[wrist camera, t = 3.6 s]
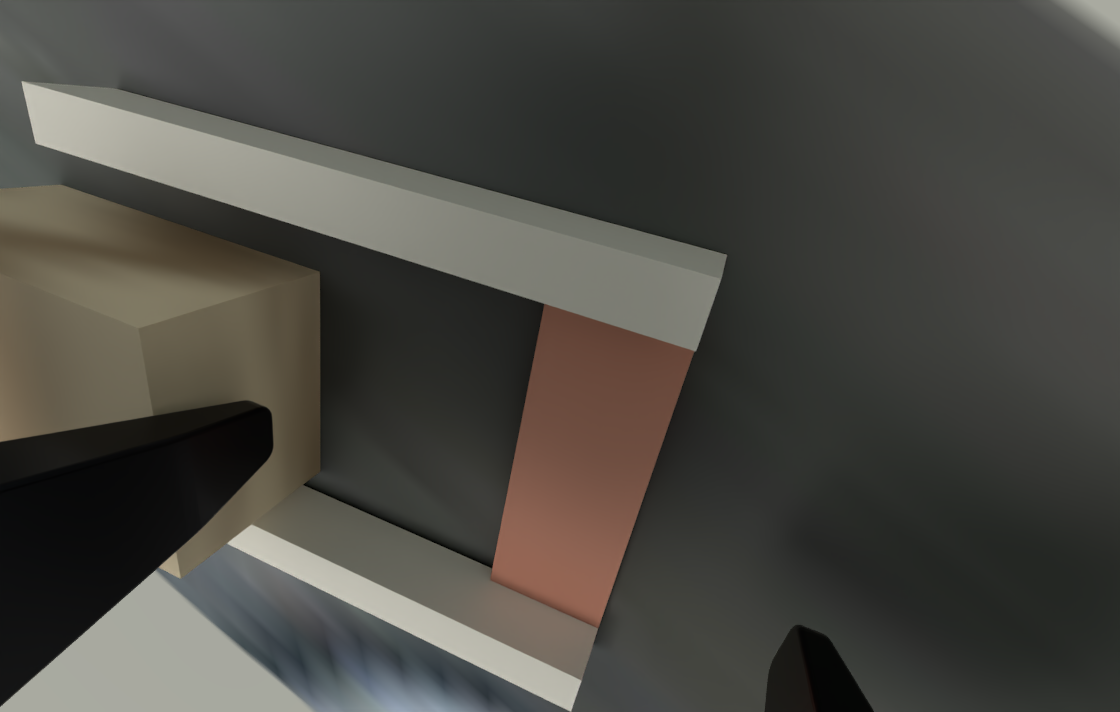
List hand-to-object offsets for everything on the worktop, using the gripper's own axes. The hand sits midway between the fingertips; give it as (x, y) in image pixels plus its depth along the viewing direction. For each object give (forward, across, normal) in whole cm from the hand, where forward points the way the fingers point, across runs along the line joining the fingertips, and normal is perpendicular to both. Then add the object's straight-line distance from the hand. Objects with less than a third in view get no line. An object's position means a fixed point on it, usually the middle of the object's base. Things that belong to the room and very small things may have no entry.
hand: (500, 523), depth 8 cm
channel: (+2, +4, 0) cm, 5 cm away
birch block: (+2, +9, 0) cm, 9 cm away
